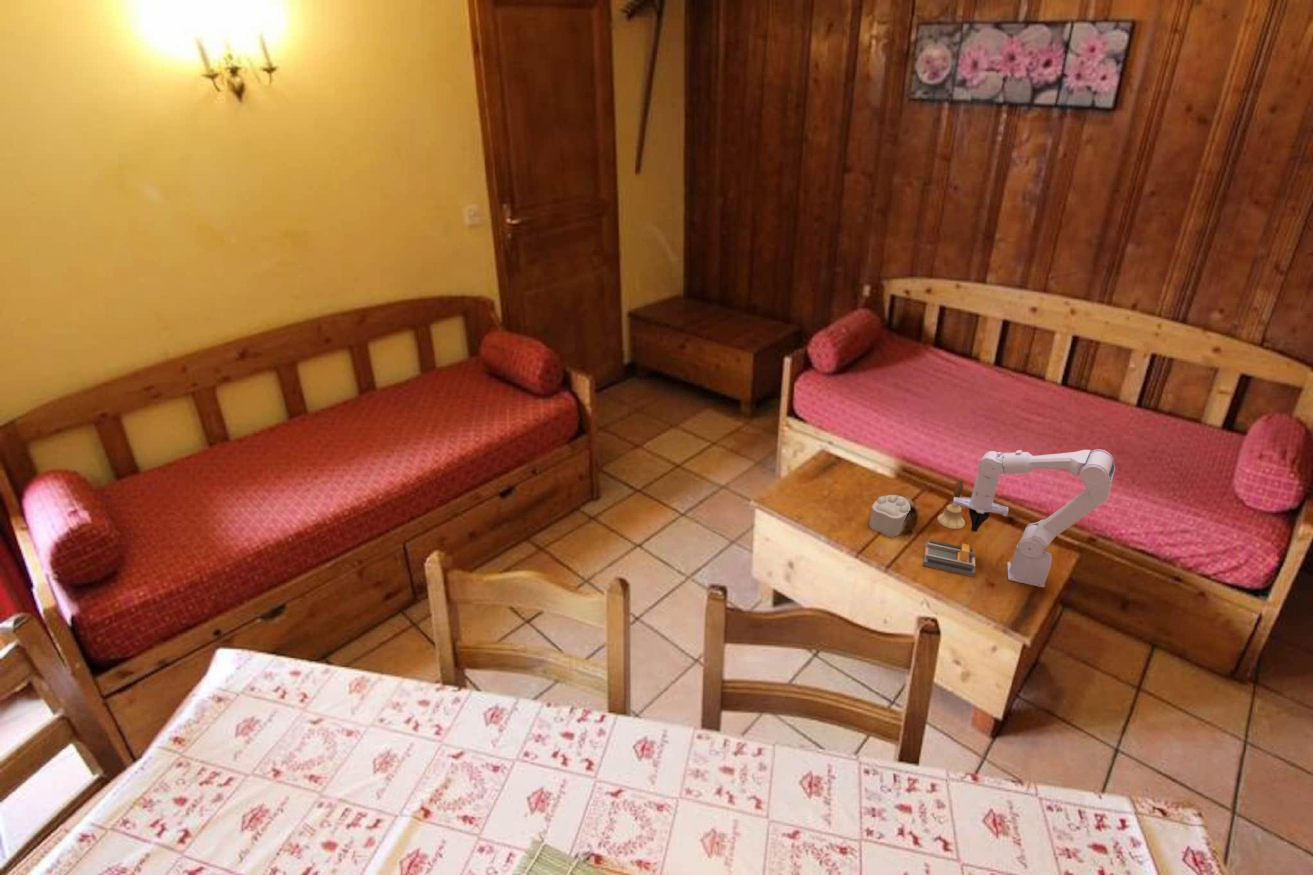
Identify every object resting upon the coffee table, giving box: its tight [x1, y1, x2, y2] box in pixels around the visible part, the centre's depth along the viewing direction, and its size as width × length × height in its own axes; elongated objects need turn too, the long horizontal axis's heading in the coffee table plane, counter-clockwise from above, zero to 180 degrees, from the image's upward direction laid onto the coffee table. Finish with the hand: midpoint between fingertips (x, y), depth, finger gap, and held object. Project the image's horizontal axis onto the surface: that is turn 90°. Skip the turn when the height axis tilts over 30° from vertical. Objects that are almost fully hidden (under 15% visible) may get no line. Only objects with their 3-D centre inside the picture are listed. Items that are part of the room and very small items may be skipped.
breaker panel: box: [922, 539, 976, 578], centre depth 212 cm, size 14×10×3 cm
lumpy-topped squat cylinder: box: [868, 494, 911, 538], centre depth 227 cm, size 10×13×9 cm
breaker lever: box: [957, 542, 971, 563], centre depth 210 cm, size 3×4×4 cm
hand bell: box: [937, 478, 966, 530], centre depth 226 cm, size 8×8×16 cm
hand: (973, 529), depth 211 cm, fingers closed
